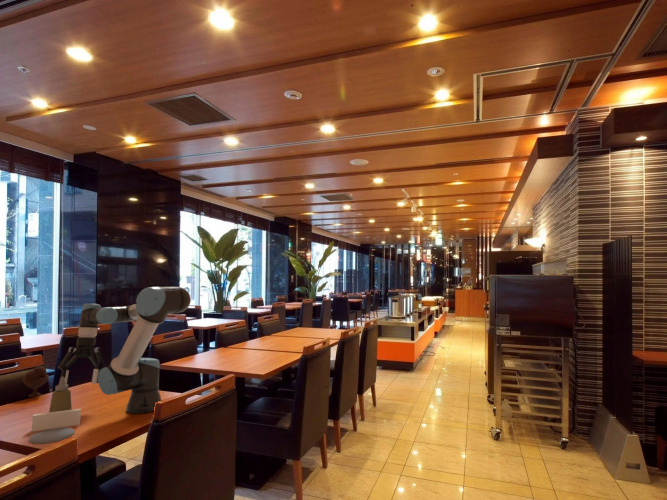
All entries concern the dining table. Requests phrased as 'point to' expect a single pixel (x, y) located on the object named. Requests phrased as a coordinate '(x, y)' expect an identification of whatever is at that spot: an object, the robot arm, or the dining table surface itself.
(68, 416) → the beige rectangular block
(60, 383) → the squeeze bottle
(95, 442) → the dining table surface
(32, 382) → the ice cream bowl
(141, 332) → the robot arm
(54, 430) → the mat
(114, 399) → the dining table surface
